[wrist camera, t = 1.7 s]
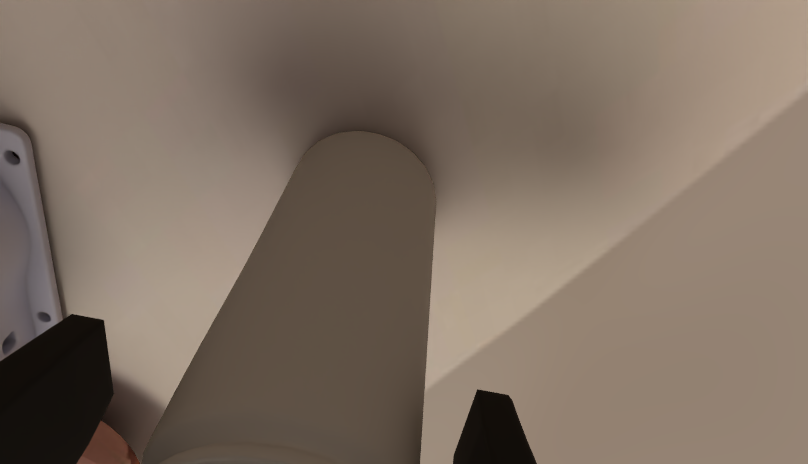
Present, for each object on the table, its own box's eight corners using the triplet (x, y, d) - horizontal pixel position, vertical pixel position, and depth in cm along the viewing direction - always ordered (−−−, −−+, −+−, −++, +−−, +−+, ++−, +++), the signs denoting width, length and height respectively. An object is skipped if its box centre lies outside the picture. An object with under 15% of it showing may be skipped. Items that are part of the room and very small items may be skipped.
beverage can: (462, 215, 20) (468, 586, 10) (346, 270, 21) (247, 638, 11) (386, 95, 18) (292, 408, 8) (263, 167, 19) (54, 502, 9)
